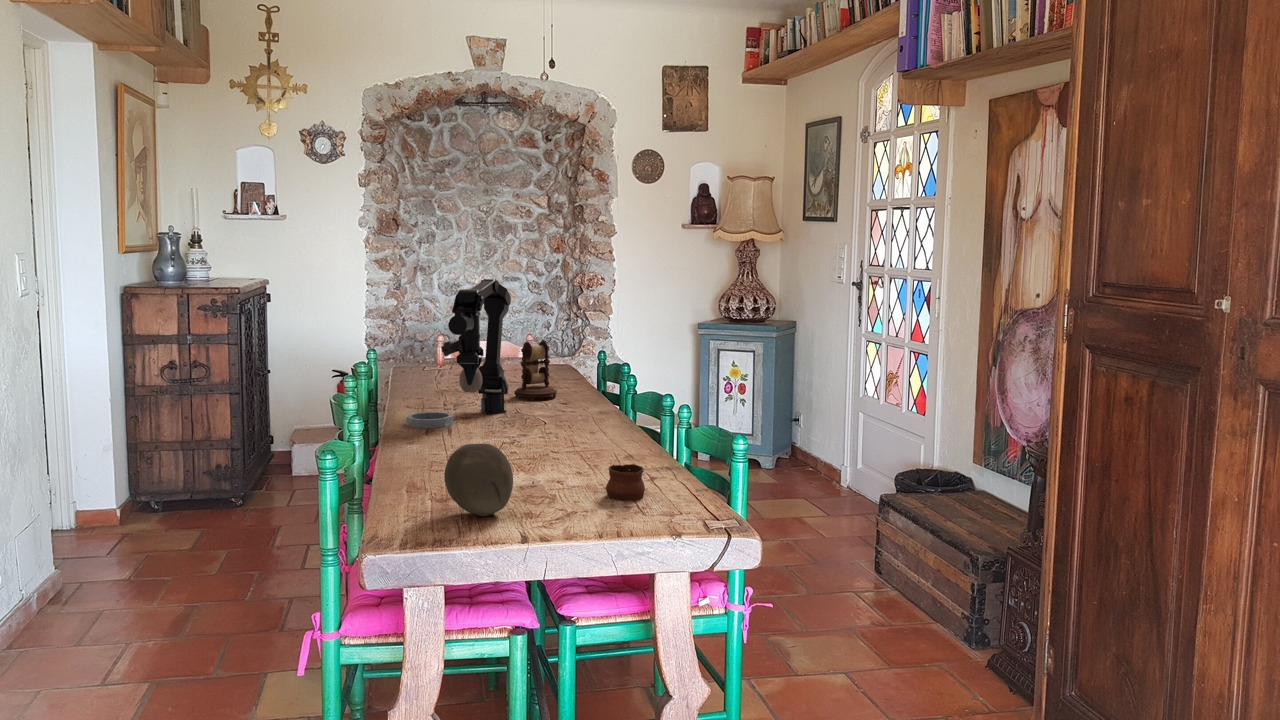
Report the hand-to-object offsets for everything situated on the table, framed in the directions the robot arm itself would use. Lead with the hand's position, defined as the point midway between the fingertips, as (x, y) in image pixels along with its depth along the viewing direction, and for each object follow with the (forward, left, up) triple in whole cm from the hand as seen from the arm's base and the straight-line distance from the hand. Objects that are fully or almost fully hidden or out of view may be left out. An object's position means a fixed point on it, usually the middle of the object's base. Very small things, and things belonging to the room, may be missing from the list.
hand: (470, 383), depth 308 cm
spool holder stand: (-39, -33, -13) cm, 53 cm away
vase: (0, 0, -3) cm, 3 cm away
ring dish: (+11, -7, -12) cm, 18 cm away
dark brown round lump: (+41, +92, -13) cm, 101 cm away
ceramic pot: (+7, +96, -13) cm, 97 cm away
